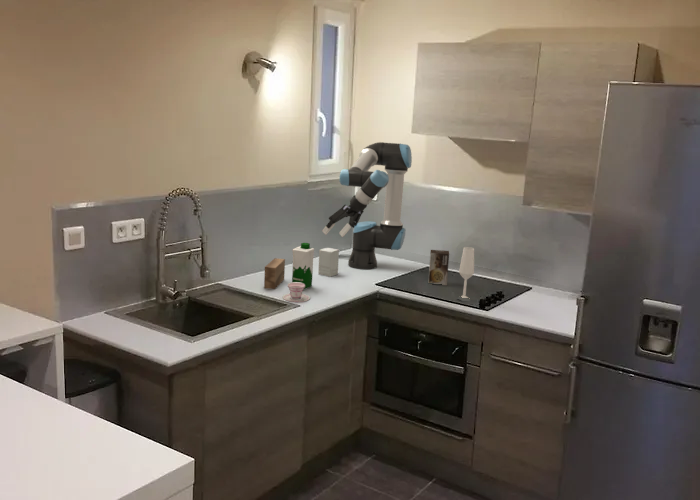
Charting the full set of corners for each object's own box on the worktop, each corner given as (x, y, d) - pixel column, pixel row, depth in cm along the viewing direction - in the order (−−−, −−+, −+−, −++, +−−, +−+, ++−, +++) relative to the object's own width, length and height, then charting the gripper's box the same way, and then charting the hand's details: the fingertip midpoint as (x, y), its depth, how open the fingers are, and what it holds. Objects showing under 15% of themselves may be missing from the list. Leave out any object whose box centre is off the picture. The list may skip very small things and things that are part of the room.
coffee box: (446, 282, 346) (449, 250, 342) (446, 285, 340) (449, 253, 336) (427, 280, 347) (430, 249, 343) (427, 284, 340) (430, 252, 337)
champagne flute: (453, 297, 321) (458, 246, 316) (466, 297, 323) (472, 246, 318) (460, 302, 315) (465, 250, 309) (473, 301, 317) (479, 249, 311)
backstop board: (284, 279, 334) (285, 259, 332) (274, 289, 318) (275, 267, 316) (274, 278, 335) (274, 258, 333) (264, 288, 319) (264, 266, 316)
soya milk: (314, 285, 327) (316, 244, 322) (305, 290, 319) (307, 247, 314) (297, 282, 330) (299, 241, 326) (288, 287, 322) (290, 245, 317)
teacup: (282, 294, 312) (283, 280, 311) (309, 294, 313) (310, 281, 312) (282, 302, 300) (283, 288, 299) (310, 303, 302) (311, 289, 300)
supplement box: (338, 274, 349) (339, 249, 346) (329, 277, 343) (331, 252, 340) (326, 271, 353) (327, 247, 350) (317, 274, 347) (318, 249, 344)
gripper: (350, 202, 302) (321, 237, 309) (380, 208, 323) (352, 241, 330) (340, 190, 305) (312, 225, 313) (370, 197, 326) (343, 230, 333)
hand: (332, 234), depth 321 cm, fingers open, 13 cm apart
